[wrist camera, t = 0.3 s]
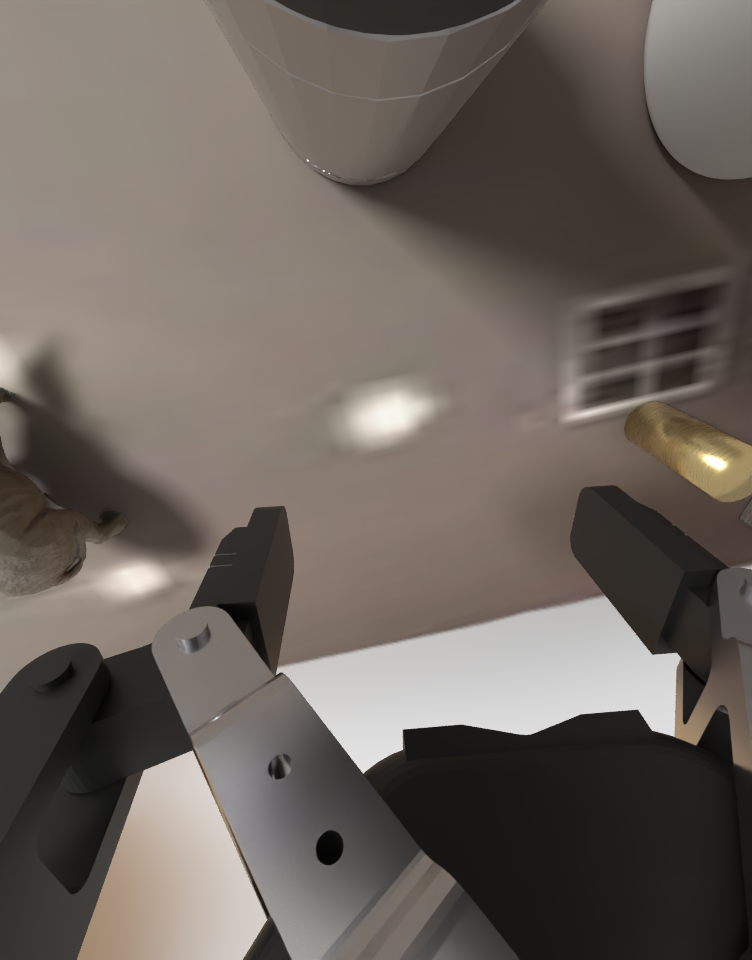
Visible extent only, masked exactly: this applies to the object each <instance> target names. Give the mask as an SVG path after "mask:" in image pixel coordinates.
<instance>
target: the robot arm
mask: <svg viewBox="0 0 752 960" xmlns="http://www.w3.org/2000/svg"><path fill="white" fill-rule="evenodd" d="M204 1H205V3H206V4H207V6H208V8H209V10H210V11H211V13H212V15H213V16H214V18H215V20H216V22H217V23H218V25H219V27H220V29H221V30H222V32H223V34H224V35H225V37H226V39H227V41H228V42H229V44H230V46H231V48H232V49H233V51H234V53H235V54H236V56H237V58H238V60H239V61H240V63H241V65H242V66H243V68H244V70H245V72H246V73H247V75H248V77H249V79H250V80H251V82H252V84H253V85H254V87H255V89H256V91H257V92H258V94H259V96H260V98H261V99H262V101H263V103H264V105H265V106H266V108H267V110H268V112H269V113H270V115H271V117H272V118H273V120H274V122H275V124H276V125H277V127H278V129H279V131H280V132H281V134H282V136H283V137H284V139H285V140H286V141H287V143H288V144H289V145H290V146H291V148H292V149H293V150H294V151H295V153H296V154H297V155H298V156H299V157H300V158H301V159H302V160H303V161H304V162H305V163H307V164H308V165H309V166H310V167H311V168H312V169H314V170H315V171H317V172H318V173H320V174H322V175H324V176H326V177H328V178H329V179H331V180H334V181H337V182H341V183H345V184H349V185H373V184H377V183H381V182H385V181H388V180H390V179H392V178H394V177H396V176H397V175H399V174H401V173H403V172H405V171H406V170H407V169H408V168H410V167H411V166H412V165H413V164H414V163H415V162H416V161H417V160H419V159H420V158H421V157H422V155H423V154H424V153H425V152H426V150H427V149H428V148H429V147H430V145H431V144H432V143H433V142H434V141H435V140H436V139H437V137H438V136H439V135H440V134H441V133H442V131H443V130H444V129H445V128H446V127H447V125H448V124H449V123H450V122H451V120H452V119H453V118H454V117H455V115H456V114H457V113H458V112H459V110H460V109H461V108H462V107H463V105H464V104H465V103H466V102H467V100H468V99H469V98H470V97H471V96H472V94H473V93H474V92H475V91H476V89H477V88H478V87H479V86H480V84H481V83H482V82H483V81H484V79H485V78H486V77H487V76H488V74H489V73H490V72H491V71H492V69H493V68H494V67H495V66H496V65H497V63H498V62H499V61H500V60H501V58H502V57H503V56H504V55H505V53H506V52H507V51H508V50H509V48H510V47H511V46H512V45H513V43H514V42H515V41H516V40H517V38H518V37H519V36H520V35H521V34H522V32H523V31H524V30H525V29H526V27H527V26H528V25H529V24H530V22H531V21H532V20H533V19H534V17H535V16H536V15H537V14H538V12H539V11H540V10H541V9H542V7H543V6H544V4H545V3H546V1H547V0H204ZM570 542H571V548H572V551H573V554H574V556H575V557H576V559H577V560H578V561H579V563H580V564H581V565H582V566H583V568H584V569H585V570H586V571H587V573H588V574H589V575H590V577H591V578H592V579H593V580H594V582H595V583H596V584H597V585H598V587H599V588H600V589H601V590H602V592H603V593H604V594H605V595H606V597H607V598H608V599H609V600H610V602H611V603H612V604H613V606H614V607H615V608H616V609H617V610H618V612H619V613H620V614H621V615H622V617H623V618H624V619H625V621H626V622H627V623H628V624H629V626H630V627H631V628H632V629H633V631H634V632H635V633H636V635H637V636H638V637H639V638H640V640H641V641H642V642H643V643H644V645H645V646H646V647H647V648H648V650H649V651H650V652H651V653H652V654H653V655H654V654H666V653H678V655H679V656H680V657H681V660H680V662H679V664H678V666H677V673H676V674H677V675H676V710H675V737H673V736H670V735H666V734H663V733H658V732H655V731H652V730H651V729H650V727H649V726H648V724H647V723H646V721H645V720H644V718H643V717H642V715H641V714H640V712H639V711H638V710H628V711H618V712H605V713H594V714H582V715H579V716H576V717H574V718H571V719H569V720H566V721H564V722H562V723H559V724H556V725H554V726H552V727H549V728H547V729H544V730H542V731H539V732H537V733H534V734H531V735H519V734H513V733H506V732H501V731H495V730H490V729H483V728H477V727H472V726H466V725H453V726H441V727H429V728H418V729H405V730H403V750H402V751H399V752H397V753H394V754H392V755H390V756H388V757H386V758H384V759H383V760H381V761H379V762H378V763H376V764H375V765H374V766H373V767H371V768H370V769H368V770H367V771H366V772H365V773H364V774H363V773H362V772H361V771H360V769H359V768H358V767H357V765H356V764H355V763H354V762H353V760H352V759H351V758H350V756H349V755H348V754H347V752H346V751H345V750H344V749H343V747H342V746H341V745H340V743H339V742H338V741H337V739H336V738H335V737H334V736H333V734H332V733H331V732H330V731H329V729H328V728H327V727H326V725H325V724H324V723H323V722H322V720H321V719H320V718H319V716H318V715H317V714H316V712H315V711H314V710H313V708H312V707H311V706H310V705H309V703H308V702H307V701H306V699H305V698H304V697H303V695H302V694H301V693H300V692H299V690H298V689H297V688H296V687H295V685H294V684H293V683H292V681H291V680H290V679H289V678H288V677H287V676H286V675H285V674H283V673H279V674H278V675H276V671H277V665H278V659H279V654H280V648H281V643H282V637H283V632H284V626H285V620H286V615H287V609H288V604H289V598H290V592H291V587H292V581H293V575H294V557H293V550H292V544H291V538H290V531H289V525H288V519H287V513H286V509H285V507H284V506H275V507H259V508H255V509H254V511H253V513H252V516H251V519H250V521H249V524H248V526H247V527H239V528H235V529H233V530H232V531H231V532H230V533H229V534H228V535H227V536H226V537H225V538H223V539H222V541H221V543H220V545H219V547H218V549H217V551H216V553H215V556H214V558H213V560H212V562H211V564H210V568H208V570H207V573H206V575H205V577H204V579H203V581H202V583H201V585H200V587H199V590H198V592H197V594H196V596H195V598H194V600H193V602H192V604H191V607H190V609H189V610H187V611H185V612H182V613H180V614H178V615H177V616H175V617H173V618H172V619H170V620H169V621H168V622H167V623H166V624H164V625H163V626H162V627H161V629H160V630H159V631H158V632H157V634H156V635H155V637H154V639H153V643H151V644H149V645H146V646H143V647H141V648H138V649H134V650H131V651H128V652H125V653H122V654H119V655H115V656H112V657H109V658H106V659H103V657H102V655H101V653H100V651H99V650H98V649H97V647H95V646H93V645H90V644H86V643H76V644H70V645H66V646H62V647H59V648H56V649H54V650H51V651H49V652H47V653H45V654H43V655H41V656H40V657H38V658H36V659H35V660H33V661H32V662H30V663H29V664H28V665H26V666H25V667H24V668H23V669H21V670H20V671H19V672H18V673H17V674H16V675H15V676H14V677H13V678H12V680H11V681H10V682H9V683H8V685H7V686H6V687H5V688H4V690H3V691H2V692H1V694H0V960H77V957H78V954H79V951H80V949H81V946H82V943H83V940H84V937H85V934H86V931H87V929H88V925H89V923H90V920H91V917H92V915H93V912H94V909H95V906H96V903H97V901H98V898H99V895H100V892H101V889H102V886H103V884H104V881H105V878H106V875H107V872H108V869H109V867H110V864H111V861H112V858H113V855H114V852H115V850H116V847H117V844H118V841H119V838H120V835H121V833H122V830H123V827H124V824H125V821H126V819H127V816H128V813H129V810H130V807H131V804H132V801H133V799H134V796H135V793H136V790H137V787H138V785H139V782H140V779H141V776H142V773H143V771H144V770H145V769H148V768H150V767H153V766H155V765H158V764H160V763H163V762H165V761H167V760H170V759H172V758H175V757H177V756H180V755H182V754H184V753H187V752H189V751H192V750H193V752H194V754H195V757H196V759H197V761H198V763H199V766H200V768H201V770H202V772H203V775H204V777H205V779H206V781H207V783H208V786H209V788H210V790H211V793H212V795H213V797H214V799H215V802H216V804H217V806H218V808H219V811H220V813H221V815H222V817H223V820H224V822H225V824H226V827H227V829H228V831H229V833H230V836H231V838H232V840H233V843H234V845H235V847H236V850H237V852H238V854H239V857H240V859H241V861H242V864H243V866H244V868H245V870H246V873H247V875H248V877H249V879H250V882H251V884H252V886H253V889H254V891H255V893H256V895H257V898H258V900H259V902H260V904H261V907H262V909H263V911H264V913H265V916H266V918H267V921H266V923H265V924H264V926H263V928H262V929H261V931H260V933H259V934H258V936H257V938H256V939H255V941H254V942H253V944H252V946H251V947H250V949H249V951H248V952H247V954H246V956H245V957H244V959H243V960H752V570H751V569H745V568H729V567H727V566H726V565H725V564H723V563H722V562H721V561H720V560H718V559H717V558H716V557H715V556H713V555H712V554H711V553H709V552H708V551H707V550H706V549H704V548H703V547H702V546H700V545H699V544H698V543H697V542H695V541H694V540H693V539H691V538H690V537H689V536H685V533H684V532H682V531H681V530H680V529H679V528H677V527H676V526H672V523H671V522H670V521H668V520H667V519H666V518H664V517H663V516H662V515H661V514H659V513H658V512H657V511H655V510H653V509H650V508H648V507H646V506H644V505H642V504H640V503H638V502H636V501H635V500H633V499H632V498H631V497H630V496H628V495H627V494H626V493H625V492H623V491H622V490H621V489H620V488H618V487H617V486H614V485H609V486H594V487H585V488H583V489H582V490H581V492H580V494H579V498H578V503H577V507H576V512H575V517H574V521H573V526H572V531H571V536H570Z"/></svg>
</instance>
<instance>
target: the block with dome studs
mask: <svg viewBox="0 0 752 960" xmlns="http://www.w3.org/2000/svg"><path fill="white" fill-rule="evenodd" d="M739 519H741V520H742V521H744V522H745V523H747V524H748V525H749V526H751V527H752V499H751V501H750V502H749V504H748V505H747V507H746V508H745V510H744V511H743V513H742V515H741V516H740V518H739Z"/></svg>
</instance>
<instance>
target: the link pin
mask: <svg viewBox="0 0 752 960" xmlns="http://www.w3.org/2000/svg"><path fill="white" fill-rule="evenodd" d="M624 430H625V435H626V437H627V438H628V439H629V440H630V441H631V442H633V443H634V444H636V445H637V446H639V447H640V448H642V449H643V450H645V451H646V452H648V453H649V454H650V455H652V456H653V457H655V458H656V459H658V460H659V461H661V462H662V463H664V464H665V465H667V466H668V467H670V468H671V469H672V470H674V471H675V472H677V473H678V474H680V475H681V476H683V477H684V478H686V479H687V480H689V481H690V482H692V483H693V484H694V485H696V486H697V487H699V488H700V489H702V490H703V491H705V492H706V493H708V494H709V495H711V496H712V497H714V498H715V499H717V500H719V501H722V502H733V501H738V500H741V499H743V498H745V497H747V496H749V495H751V494H752V446H750V445H748V444H746V443H744V442H742V441H740V440H738V439H736V438H734V437H732V436H730V435H728V434H726V433H724V432H722V431H719V430H717V429H715V428H713V427H711V426H709V425H707V424H705V423H703V422H701V421H699V420H697V419H695V418H693V417H691V416H689V415H687V414H685V413H683V412H681V411H679V410H677V409H675V408H673V407H671V406H668V405H666V404H664V403H662V402H659V401H651V402H647V403H644V404H642V405H640V406H639V407H637V408H636V409H635V410H634V411H633V412H632V413H631V414H630V415H629V417H628V419H627V421H626V423H625V428H624Z"/></svg>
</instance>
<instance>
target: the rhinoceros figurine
mask: <svg viewBox="0 0 752 960" xmlns="http://www.w3.org/2000/svg"><path fill="white" fill-rule="evenodd" d="M11 394H12V395H14V396H15V394H13V393H12V392H11ZM12 395H10V394H9V392H8V391H6V390H4V389H2V388H0V403H1V402H6V401H9V400H10V399H11V397H12ZM127 523H128V522H127V520H126V519H125V518H124V517H123V516H122V515H121V514H119V513H116V512H114V511H106V513H104V515H103V516H100V524H97V523H95V522H94V521H92V520H91V519H90V518H88V517H87V516H85V515H84V514H83V513H80V512H77V511H75V510H72V509H65V508H62V507H60V506H58V505H56V504H55V503H53V502H52V501H51V500H50V499H49V497H48V496H47V494H46V493H43V492H42V491H41V490H40V489H39V488H38V487H37V485H36V484H35V483H34V482H33V481H32V480H31V479H29V478H28V477H27V476H25V475H24V474H22V473H20V472H18V471H17V470H16V469H15V468H14V467H13V466H12V465H11V464H10V463H9V462H8V460H7V458H6V456H5V453H4V450H3V447H2V442H1V437H0V597H16V596H25V595H30V594H35V593H38V592H40V591H43V590H45V589H49V588H51V587H53V586H58V585H60V584H63V583H64V582H66V581H68V580H69V579H71V578H73V577H74V576H75V575H77V574H78V572H79V571H80V570H81V568H82V565H83V562H84V560H85V558H86V544H85V542H87V541H88V542H93V543H96V544H101V543H102V542H104V541H106V540H107V539H108V538H109V537H110V536H114V535H116V534H118V533H120V532H122V531H123V530H124V528H125V526H126V525H127Z"/></svg>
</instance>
